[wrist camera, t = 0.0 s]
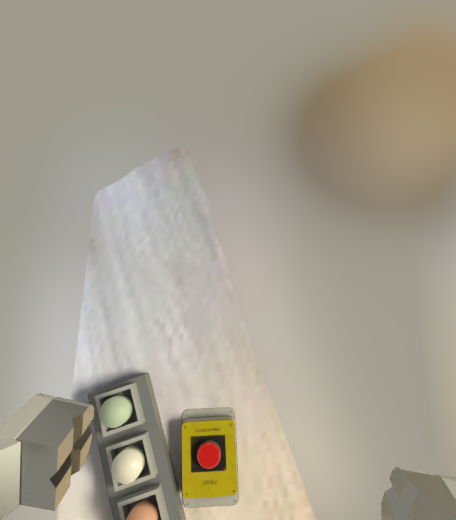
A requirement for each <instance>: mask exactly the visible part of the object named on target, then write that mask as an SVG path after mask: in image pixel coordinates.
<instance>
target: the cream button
mask: <svg viewBox="0 0 456 520" xmlns="http://www.w3.org/2000/svg"><path fill="white" fill-rule="evenodd" d="M144 466H145V455H144V452H143V451H142V450H141V449H140V448H139V447H137V446H128V447H126V448H124V449H123V450H122V451H121V452H120V453H119V454H118V455H117V456H116V457H115V459H114V460H113V463H112V467H111V471H112V475H113V477H114V479H115V480H116V481H117V482H119V483H121V484H129V483H131V482H133V481H134V480H135V479H136V478H137V477H138V476H139V474H140V473H141V471H142V470H143V468H144Z"/></svg>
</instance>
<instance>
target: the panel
mask: <svg viewBox="0 0 456 520" xmlns="http://www.w3.org/2000/svg"><path fill="white" fill-rule="evenodd" d="M117 395H125V396H127V397H128V398H129V399H130V400H131V401H132V404H133V413H132V415H131V417H130V418H129V419H128V420H127V421H126V422H125V423H123V424H122V425H121V426H119V427H116V428H109V427H107V426H105V425H104V424H103V423H102V421H101V419H100V409H101V406H102V405H103V403H104V402H105V401H106V400H108V399H110V398H112V397H114V396H117ZM88 398H89V403H90V405H92V406H93V407H94V418H93V422H94V427H95V432H96V437H97V442H98V446H99V451H100V456H101V461H102V466H103V470H104V475H105V480H106V485H107V490H108V494H109V499H110V504H111V509H112V514H113V518H114V520H126V518H127V516H128V515H129V513H130V511H131V510H132V508H133V506H134V505H135V504H136V503H138V502H139V501H142V500H148V501H151V502H152V503H154V504H155V506H156V507H157V509H158V514H159V518H158V520H186V518H185V514H184V510H183V506H182V502H181V498H180V494H179V490H178V486H177V482H176V478H175V474H174V470H173V466H172V462H171V458H170V455H169V451H168V447H167V443H166V439H165V435H164V431H163V427H162V423H161V419H160V415H159V411H158V407H157V403H156V399H155V395H154V392H153V388H152V384H151V380H150V376H149V373H147V374H144V375H141V376H138V377H135V378H132V379H129V380H126V381H123V382H120V383H117V384H114V385H111V386H108V387H105V388H102V389H99V390H96V391H94V392H91V393H88ZM128 446H137V447H139V448H140V449H141V450H142V451H143V452H144V455H145V466H144V468H143V470H142V471H141V473H140V474H139V476H138V477H137V478H136V479H135V480H134V481H133V482H131V483H129V484H121V483H119V482H117V481H116V480H115V479H114V477H113V475H112V471H111V467H112V463H113V460H114V459H115V457H116V456H117V455H118V454H119V453H120V452H121V451H122V450H123V449H124V448H126V447H128Z"/></svg>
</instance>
